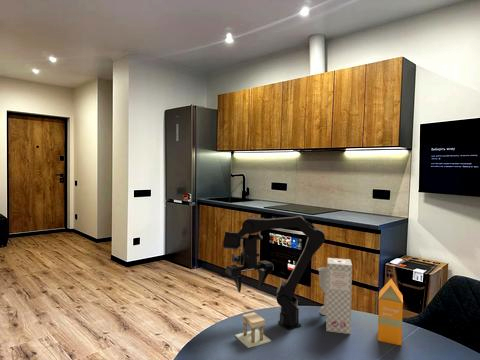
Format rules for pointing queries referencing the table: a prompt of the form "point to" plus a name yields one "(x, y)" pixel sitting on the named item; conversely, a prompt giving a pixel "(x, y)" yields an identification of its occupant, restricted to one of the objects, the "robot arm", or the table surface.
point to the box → (339, 295)
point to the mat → (247, 339)
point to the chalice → (323, 287)
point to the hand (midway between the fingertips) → (249, 290)
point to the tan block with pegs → (253, 324)
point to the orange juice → (390, 314)
